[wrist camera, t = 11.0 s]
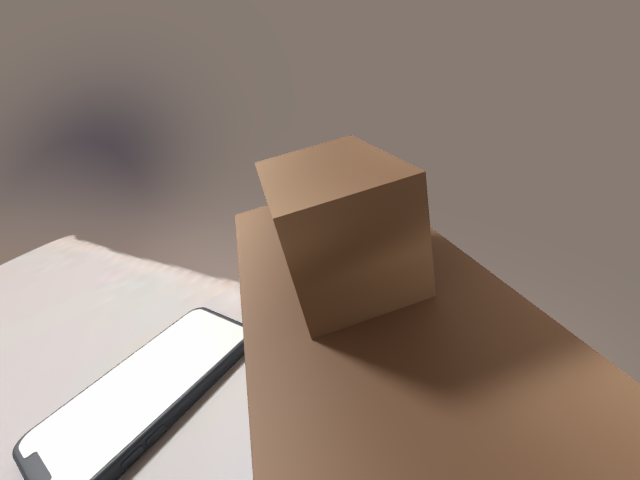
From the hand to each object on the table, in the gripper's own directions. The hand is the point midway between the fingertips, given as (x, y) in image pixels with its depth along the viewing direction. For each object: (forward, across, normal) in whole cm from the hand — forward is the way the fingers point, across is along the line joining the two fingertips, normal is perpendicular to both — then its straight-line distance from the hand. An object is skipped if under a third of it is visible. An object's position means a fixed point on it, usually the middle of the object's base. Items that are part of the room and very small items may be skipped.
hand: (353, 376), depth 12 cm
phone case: (+14, +14, +10) cm, 22 cm away
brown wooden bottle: (-3, 0, +8) cm, 8 cm away
